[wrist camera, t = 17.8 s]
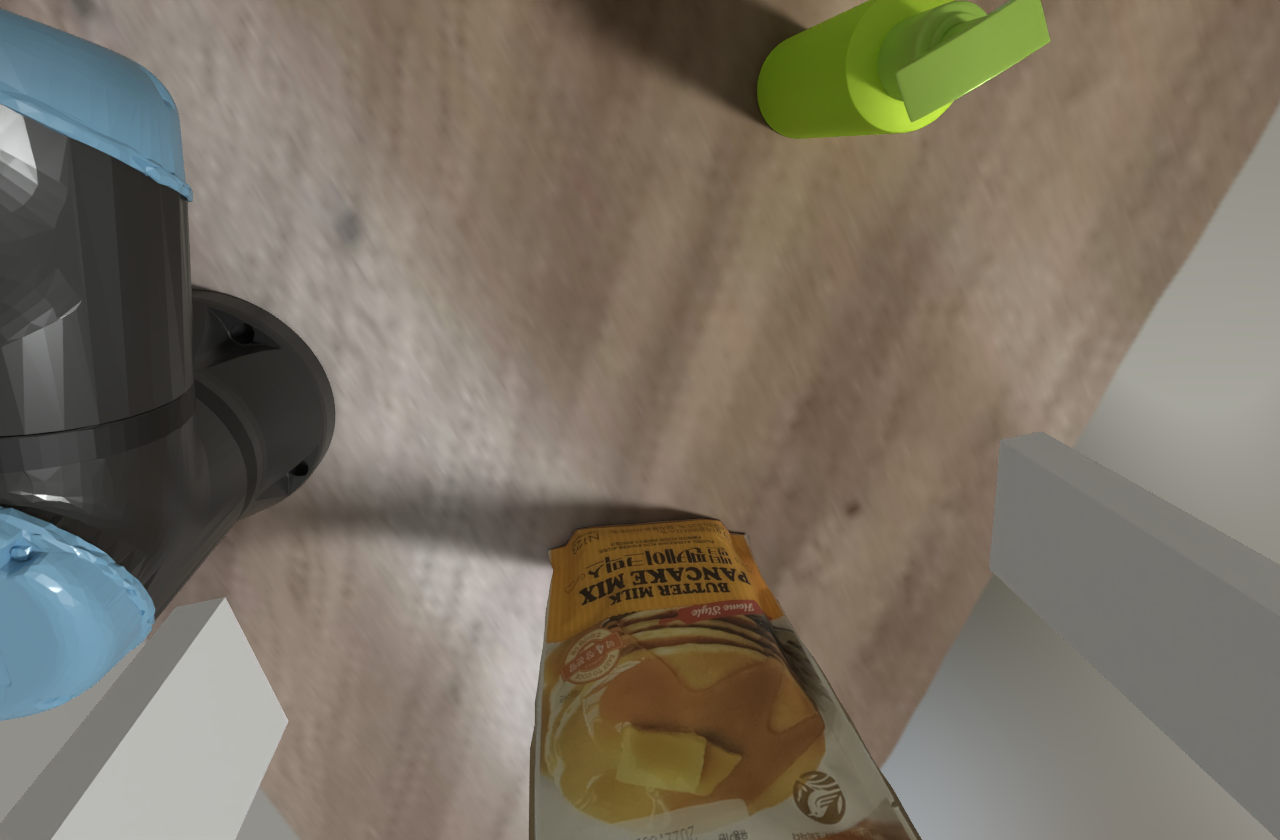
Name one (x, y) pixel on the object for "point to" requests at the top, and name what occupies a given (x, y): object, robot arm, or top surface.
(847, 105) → the soap dispenser
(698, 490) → the top surface
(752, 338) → the top surface
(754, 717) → the pancake mix bag
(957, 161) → the top surface
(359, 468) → the top surface
